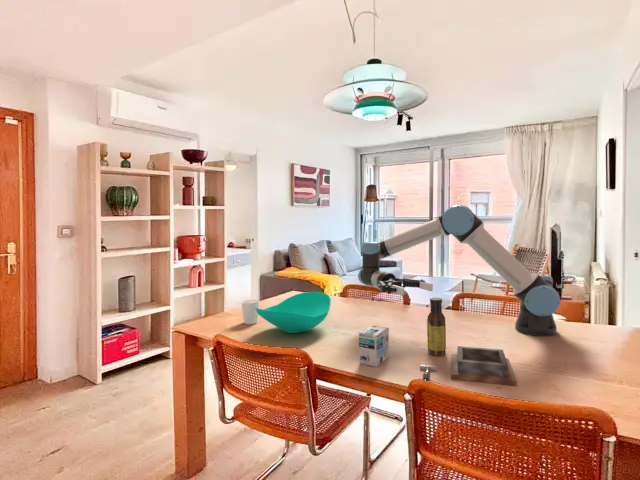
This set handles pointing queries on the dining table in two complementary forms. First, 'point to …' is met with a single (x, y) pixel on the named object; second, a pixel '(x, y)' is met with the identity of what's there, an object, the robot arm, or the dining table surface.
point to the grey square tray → (482, 366)
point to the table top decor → (298, 312)
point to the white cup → (250, 311)
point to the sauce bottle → (436, 329)
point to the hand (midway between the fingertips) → (417, 289)
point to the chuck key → (427, 370)
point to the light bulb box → (373, 345)
